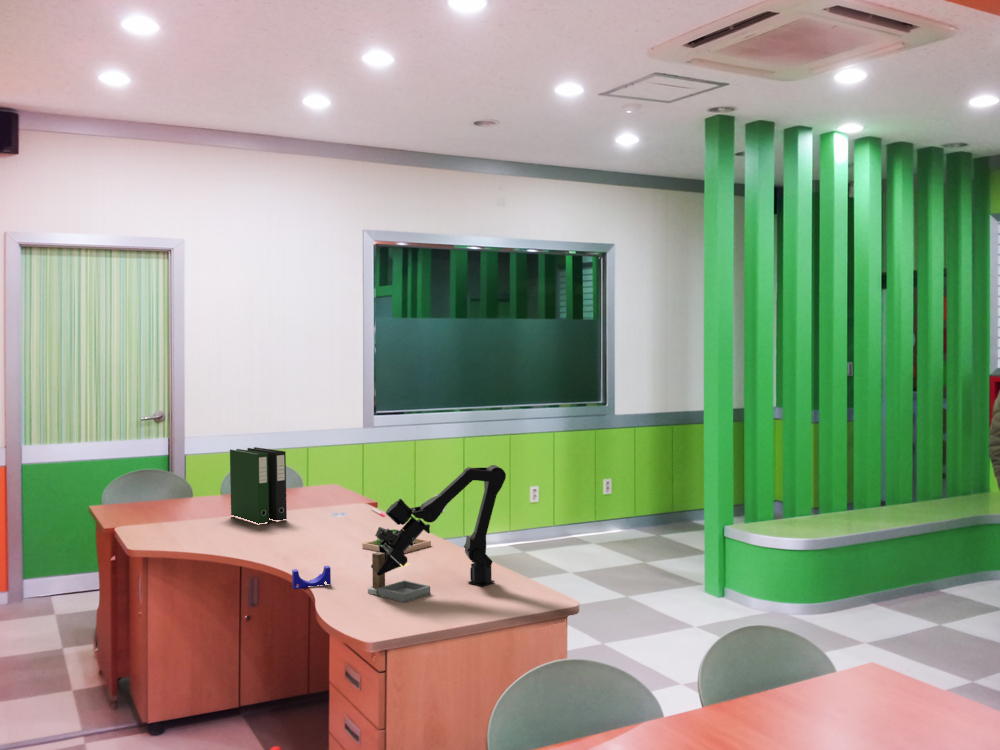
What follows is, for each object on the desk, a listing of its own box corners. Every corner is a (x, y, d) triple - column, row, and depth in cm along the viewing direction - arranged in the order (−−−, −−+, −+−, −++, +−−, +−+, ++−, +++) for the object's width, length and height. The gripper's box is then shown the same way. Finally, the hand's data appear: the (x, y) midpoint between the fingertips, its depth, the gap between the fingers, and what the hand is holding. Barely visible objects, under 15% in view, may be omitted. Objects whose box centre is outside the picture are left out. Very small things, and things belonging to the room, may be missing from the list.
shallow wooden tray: (430, 545, 337) (430, 540, 337) (396, 555, 322) (396, 550, 322) (397, 539, 349) (397, 534, 349) (362, 548, 334) (362, 543, 334)
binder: (229, 517, 399) (228, 449, 398) (258, 513, 410) (257, 446, 409) (258, 525, 380) (257, 454, 379) (288, 520, 390) (286, 451, 390)
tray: (430, 593, 271) (430, 586, 271) (404, 602, 262) (404, 594, 262) (404, 587, 278) (404, 580, 278) (378, 596, 269) (378, 588, 269)
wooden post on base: (381, 588, 277) (381, 550, 277) (390, 590, 275) (389, 552, 274) (367, 593, 272) (367, 554, 272) (376, 595, 270) (375, 556, 269)
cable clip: (327, 582, 286) (327, 564, 286) (330, 585, 282) (330, 567, 282) (291, 586, 282) (291, 568, 281) (294, 589, 277) (293, 571, 277)
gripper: (384, 513, 283) (351, 548, 280) (396, 523, 265) (362, 562, 262) (407, 534, 286) (375, 570, 282) (421, 546, 268) (387, 584, 265)
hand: (374, 571), depth 273 cm, fingers open, 9 cm apart
